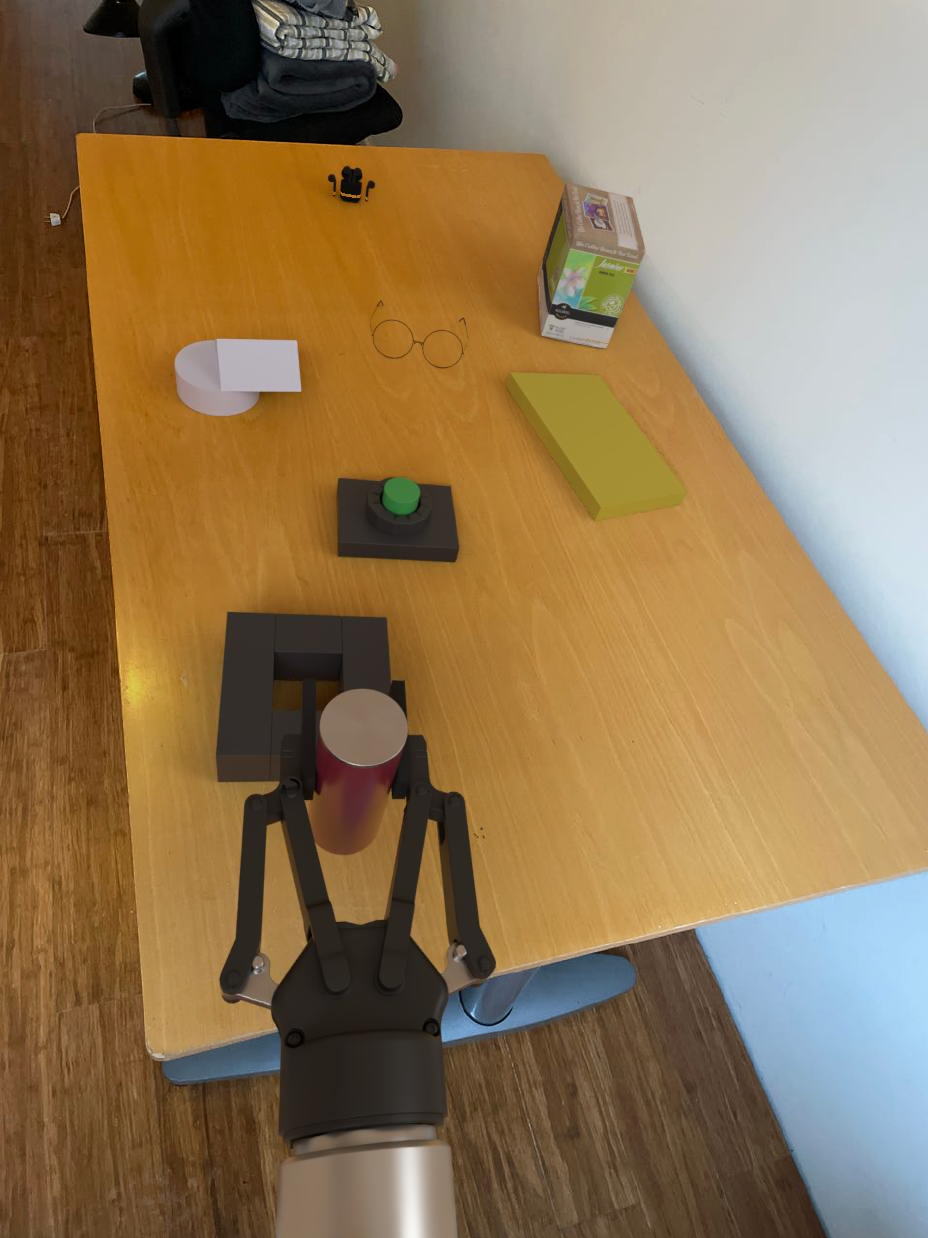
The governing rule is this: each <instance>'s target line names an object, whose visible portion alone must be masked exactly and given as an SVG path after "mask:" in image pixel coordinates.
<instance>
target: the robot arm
mask: <svg viewBox="0 0 928 1238" xmlns="http://www.w3.org/2000/svg"><path fill="white" fill-rule="evenodd" d="M406 693H407V692H406V681H405V680H404V679H403V680H401V679H400V680H399V679H393V680H392V679H391V687H390V691H389V695H388V696H389V697H390V698H392V699H393V700H394V701H395V702H396V703H397V704H398V705H399V706H400V707H401V709H402V711H403V712H404V714H405V717H406V720H407V725H408V726H409V724H408V708H407V697H406V696H407V694H406ZM300 695H301V698H300V711H301V729H300V734H285V735H284V737H283V739H282V741H281V748H280V776H279V781H278V784H277V786H276V787H275V789H273V790H271V791H270V792H267V793H264V794H261V793H252V794H250V795H248V796H247V797H246V798H245V800H244V803H243V804H244V805H243V816H242V817H243V818H242V832H241V833H242V834H241V846H240V847H241V848H240V862H239V863H240V864H239V876H238V877H239V879H238V893H237V894H238V895H237V907H236V909H237V911H236V924H235V939H234V941H233V943H232V945H231V947H230V949H229V953H228V955H227V958H226V959H225V962H224V964H223V967H222V969H221V971H220V975H219V979H218V980H219V989H220V995H221V999H222V1000H223V1001H224V1002H226V1003H227V1004H231V1005H234V1004H237V1003H239V1002H245V1003H248V1004H252V1005H255V1006H258V1007H261V1008H264V1009H267V1010H270V1015H271V1019H272V1021H273V1024H274V1025H275V1027H276V1030H277V1032H278V1034H279V1039H280V1056H279V1057H280V1058H279V1059H280V1061H279V1062H280V1063H279V1095H278V1096H279V1098H278V1099H279V1103H278V1136H279V1137H282V1142H283V1143H284V1144H285V1145H289V1150H291V1152H292V1153H291V1154H292V1155H291V1156H289V1157H286V1158H284V1159H283V1160H282V1162H280V1164H279V1165H278V1166H277V1189H276V1190H277V1192H276V1193H277V1194H276V1195H277V1196H276V1200H277V1201H276V1223H275V1224H276V1226H275V1232H276V1233H275V1238H459V1235H458V1223H457V1210H456V1209H457V1208H456V1199H455V1198H456V1197H455V1184H454V1170H453V1158H452V1147H451V1146H450V1144H449V1143H448V1142H447V1141H446V1140H441V1139H438V1138H437V1130H436V1129H438V1128H441V1127H442V1126H443V1125H445V1119H446V1118H447V1117H449V1111H448V1099H447V1087H446V1076H445V1075H446V1073H445V1063H444V1050H443V1037H442V1021H443V1017H444V1013H445V1010H446V1007H447V1005H448V1002H449V997H450V996H452V995H454V994H456V993H458V992H460V991H462V990H464V989H466V988H468V987H469V988H474V989H475V988H479V987H481V986H482V985H483V984H484V983H486V981H487V980H488V979H489V978H490V976H491V975H492V974H493V973H494V972H495V970H496V968H497V961H496V957H495V955H494V953H493V951H492V949H491V947H490V945H489V942H488V940H487V938H486V936H485V934H484V932H483V930H482V928H481V924H480V915H479V907H478V899H477V891H476V881H475V872H474V865H473V857H472V848H471V840H470V832H469V823H468V814H467V807H466V800H465V797H464V796H463V795H462V793H460V792H459V791H450V792H449V791H448V792H445V791H442V790H439V789H437V788H436V787H435V786H434V785H433V783H432V781H431V779H430V767H429V755H428V743H427V741H426V739H425V736H424V735H423V734H409V733H408V734H407V738H406V742H405V745H404V748H403V752H402V755H401V758H400V761H399V765H398V768H397V771H396V774H395V778H394V781H393V784H392V787H391V791H390V793H391V800H405V806H404V808H403V811H402V812H403V816H402V822H401V826H400V832H399V837H398V843H397V849H396V854H395V859H394V865H393V870H392V875H391V881H390V887H389V892H388V897H387V902H386V903H387V904H386V908H385V913H384V918H383V919H374V920H372V921H369V922H365V923H362V924H360V923H355V922H349V921H347V920H344V921H343V920H342V921H340V920H339V921H337V919H336V915H335V911H334V907H333V904H332V902H331V900H330V897H329V893H328V889H327V885H326V880H325V877H324V873H323V869H322V865H321V861H320V856H319V853H318V849H317V844H316V843H315V840H314V836H313V832H312V828H311V824H310V820H309V816H308V810H307V805H306V801H310V800H313V795H314V788H315V781H316V764H315V757H316V711H317V681H316V679H312V678H303V681H302V687H301V694H300ZM429 820H430V821H433V822H436V827H437V828H436V829H437V830H436V831H437V841H438V850H439V851H438V852H439V860H440V862H439V863H440V871H441V882H442V893H443V900H444V901H443V904H444V913H445V922H446V923H445V926H446V933H447V940H448V944H449V947H448V948H447V949H446V951H445V952H444V955H443V963H444V970H443V972H440V971H439V970H438V969H437V968H436V966H435V964H433V962H432V961H431V960H430V959H429V956H427V955H426V954H425V952H424V951H423V950H422V948H421V947H420V946H419V945H418V943H417V942H416V941H415V939H414V938H413V937H412V936H411V933H412V927H413V920H414V916H415V915H414V914H415V908H416V896H417V889H418V883H419V878H420V871H421V866H422V865H421V864H422V859H423V854H424V853H423V852H424V846H425V841H426V835H427V829H428V821H429ZM279 822H280V824H281V831H282V835H283V839H284V844H285V848H286V852H287V857H288V861H289V866H290V869H291V874H292V877H293V878H292V879H293V883H294V888H295V892H296V897H297V900H298V904H299V905H298V906H299V908H300V909H299V910H300V913H301V919H302V923H303V925H302V926H303V932H304V936H305V941H306V945H305V946H304V947H303V948H302V950H301V952H300V953H299V954H298V956H297V958H296V959H295V961H294V962H293V963H292V965H291V966H290V967H289V969H288V970H287V972H286V974H284V976H283V977H282V979H281V981H280V982H279V983H277V982H275V981H274V980H273V979H272V977H271V960H270V958H269V957H268V955H266V954H265V953H262V952H261V948H262V936H263V918H264V917H263V914H264V895H265V874H266V853H267V850H266V849H267V831H268V830H267V829H268V826H270V825H273V824H276V823H279Z"/></svg>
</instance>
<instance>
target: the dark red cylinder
mask: <svg viewBox="0 0 928 1238" xmlns="http://www.w3.org/2000/svg"><path fill="white" fill-rule="evenodd" d="M322 711H323V713H322V715H321V719H320V726H319V733H318V741H317V749H316V757H315V764H316V781H315V788H314V795H313V800H309V803H308V810H307V812H308V816H309V820H310V824H311V828H312V832H313V836H314V840H315V844H316V846H318V847H320V848H321V849H322V850H324V851H325V852H327V853H329V854H333V855H337V856H349V855H354V854H355V855H356V854H357V853H360V852H361V851H364V850H365V849H366V848H368V847H369V846H370V845H371V844H372V843H373V842H374V840H375V839H376V837H377V835H378V833H379V829H380V827H381V823H382V820H383V817H384V813H385V810H386V807H387V803H388V801H389V797H390V795H391V794H390V793H391V787H392V784H393V781H394V778H395V774H396V771H397V768H398V765H399V761H400V758H401V755H402V752H403V748H404V745H405V742H406V738H407V734H408V735H409V724H408V725H407V721H408V719H407V720H406V717H405V714H404V712H403V711H402V709H401V707H400V706H399V705H398V704H397V703H396V702H395V701H394V700H393V699H392V698H390V697H389V696H387V695H385V694H383V693H381V692H378V691H375V690H370V689H354V690H349V691H346V692H344V693H341V694H339V693H338V695H336V696H335V697H333V698H332V699H331V700H330V701H329V702H328V703H327V704H326V706H325V707H324V708H323V710H322Z"/></svg>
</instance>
